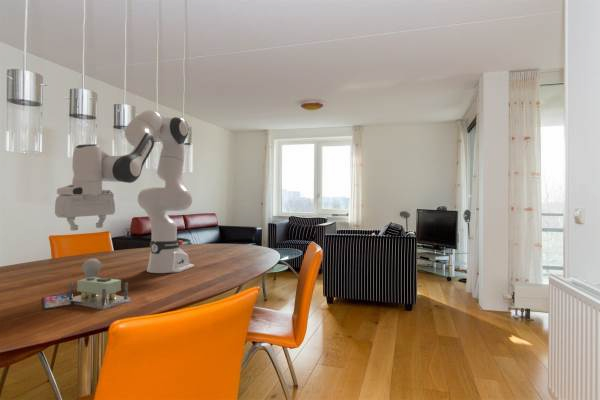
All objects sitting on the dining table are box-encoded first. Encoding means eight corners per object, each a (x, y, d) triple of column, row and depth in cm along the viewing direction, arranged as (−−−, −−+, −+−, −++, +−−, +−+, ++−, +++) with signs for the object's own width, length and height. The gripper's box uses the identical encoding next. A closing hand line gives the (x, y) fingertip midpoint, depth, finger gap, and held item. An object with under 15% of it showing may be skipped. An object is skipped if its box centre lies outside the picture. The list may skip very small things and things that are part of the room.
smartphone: (42, 308, 101) (42, 296, 113) (42, 312, 101) (42, 299, 113) (73, 304, 105) (69, 293, 117) (73, 307, 105) (69, 295, 117)
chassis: (94, 294, 118) (95, 277, 118) (130, 300, 112) (131, 282, 112) (65, 302, 109) (65, 283, 109) (103, 309, 103) (103, 289, 103)
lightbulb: (104, 286, 128) (105, 257, 128) (90, 290, 122) (91, 260, 122) (92, 285, 130) (92, 256, 130) (77, 289, 124) (78, 259, 124)
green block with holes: (91, 287, 115) (92, 275, 115) (120, 290, 111) (121, 278, 111) (77, 291, 109) (77, 278, 109) (107, 294, 106) (107, 281, 106)
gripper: (107, 190, 130) (106, 225, 131) (51, 189, 111) (51, 231, 111) (119, 190, 128) (119, 226, 128) (64, 189, 109) (64, 232, 109)
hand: (87, 228), depth 120 cm, fingers open, 8 cm apart
